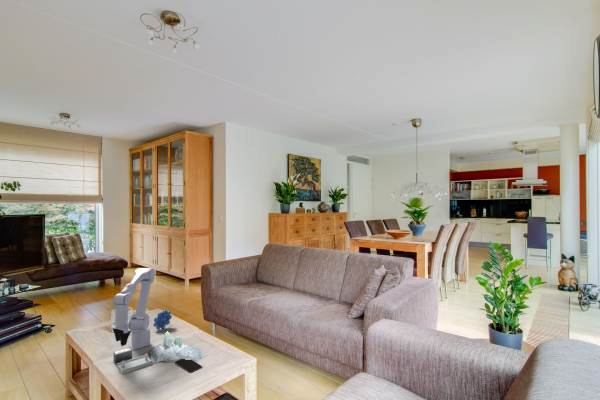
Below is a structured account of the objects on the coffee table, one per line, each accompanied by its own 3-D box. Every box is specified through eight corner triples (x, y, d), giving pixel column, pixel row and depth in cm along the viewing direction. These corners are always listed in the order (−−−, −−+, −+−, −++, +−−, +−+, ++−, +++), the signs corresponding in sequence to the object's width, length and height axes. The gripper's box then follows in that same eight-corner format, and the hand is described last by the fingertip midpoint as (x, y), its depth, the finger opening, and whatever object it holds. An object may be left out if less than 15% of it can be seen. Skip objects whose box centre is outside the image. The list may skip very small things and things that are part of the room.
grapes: (168, 324, 212) (169, 306, 212) (173, 327, 207) (173, 309, 207) (150, 329, 204) (151, 310, 204) (154, 332, 199) (155, 313, 199)
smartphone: (190, 372, 152) (173, 361, 162) (190, 375, 152) (173, 364, 162) (203, 366, 158) (186, 356, 167) (203, 368, 158) (186, 358, 167)
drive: (130, 356, 169) (130, 347, 169) (132, 359, 166) (132, 349, 166) (113, 361, 163) (113, 351, 163) (115, 364, 160) (115, 354, 160)
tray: (146, 357, 167) (146, 349, 167) (152, 363, 161) (152, 356, 161) (117, 366, 158) (117, 358, 158) (122, 374, 151) (122, 365, 151)
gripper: (108, 315, 165) (108, 341, 165) (117, 322, 155) (117, 350, 155) (123, 311, 170) (122, 337, 170) (133, 318, 160) (132, 345, 160)
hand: (121, 343), depth 163 cm, fingers open, 7 cm apart
